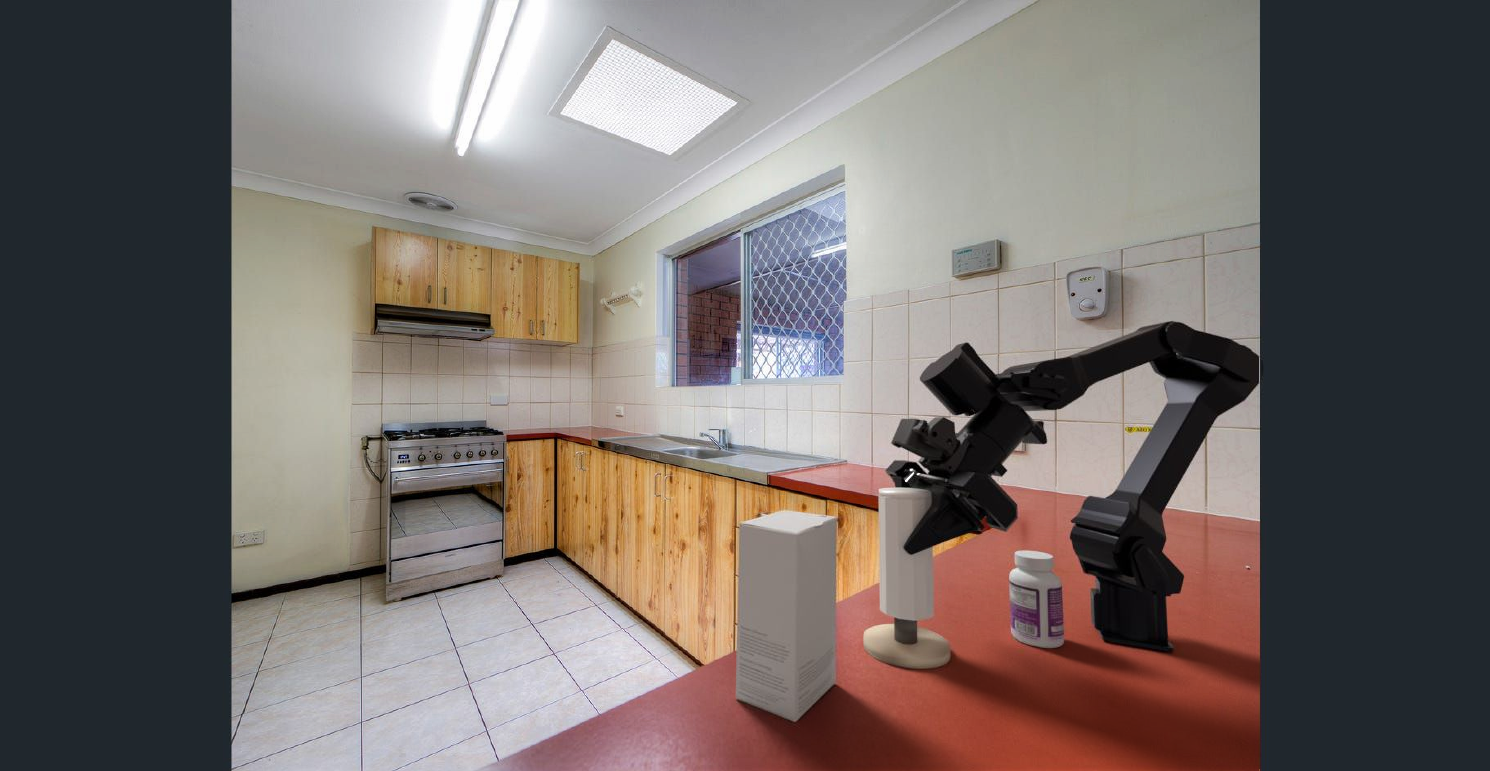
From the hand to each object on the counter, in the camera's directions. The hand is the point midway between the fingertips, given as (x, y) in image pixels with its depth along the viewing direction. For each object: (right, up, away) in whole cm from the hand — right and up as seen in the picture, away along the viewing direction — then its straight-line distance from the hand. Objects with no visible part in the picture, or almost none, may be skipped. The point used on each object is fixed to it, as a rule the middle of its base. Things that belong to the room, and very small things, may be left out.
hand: (893, 544), depth 56 cm
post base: (+1, -11, -1) cm, 11 cm away
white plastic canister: (+1, -7, 0) cm, 7 cm away
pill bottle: (+17, -12, +3) cm, 21 cm away
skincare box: (-12, -10, -10) cm, 19 cm away
